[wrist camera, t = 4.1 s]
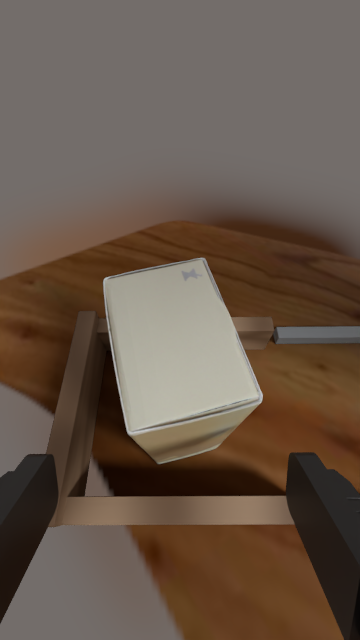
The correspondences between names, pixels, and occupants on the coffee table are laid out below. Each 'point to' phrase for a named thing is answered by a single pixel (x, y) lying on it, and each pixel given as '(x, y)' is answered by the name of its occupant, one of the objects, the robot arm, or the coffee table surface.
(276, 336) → the bracket
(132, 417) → the skincare box
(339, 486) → the robot arm
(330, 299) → the coffee table surface
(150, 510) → the frame
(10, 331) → the coffee table surface
